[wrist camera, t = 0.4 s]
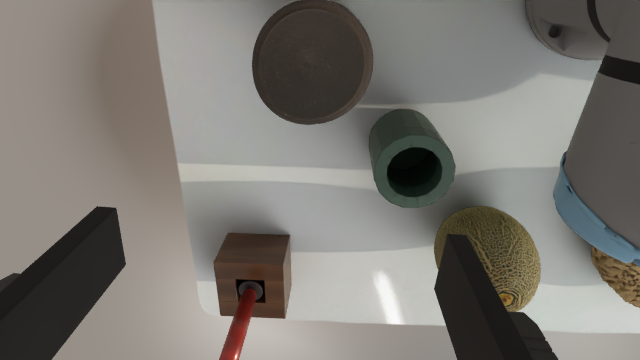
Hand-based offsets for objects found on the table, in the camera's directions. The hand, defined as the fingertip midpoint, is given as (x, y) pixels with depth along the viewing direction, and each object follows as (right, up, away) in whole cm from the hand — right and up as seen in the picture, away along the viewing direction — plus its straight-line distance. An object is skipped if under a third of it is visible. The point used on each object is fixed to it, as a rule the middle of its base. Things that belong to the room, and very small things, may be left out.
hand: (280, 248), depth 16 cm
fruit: (+22, -3, +39) cm, 45 cm away
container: (+2, +19, +30) cm, 36 cm away
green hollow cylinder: (+12, +8, +34) cm, 37 cm away
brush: (-7, -9, +43) cm, 45 cm away
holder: (-7, -9, +43) cm, 45 cm away
